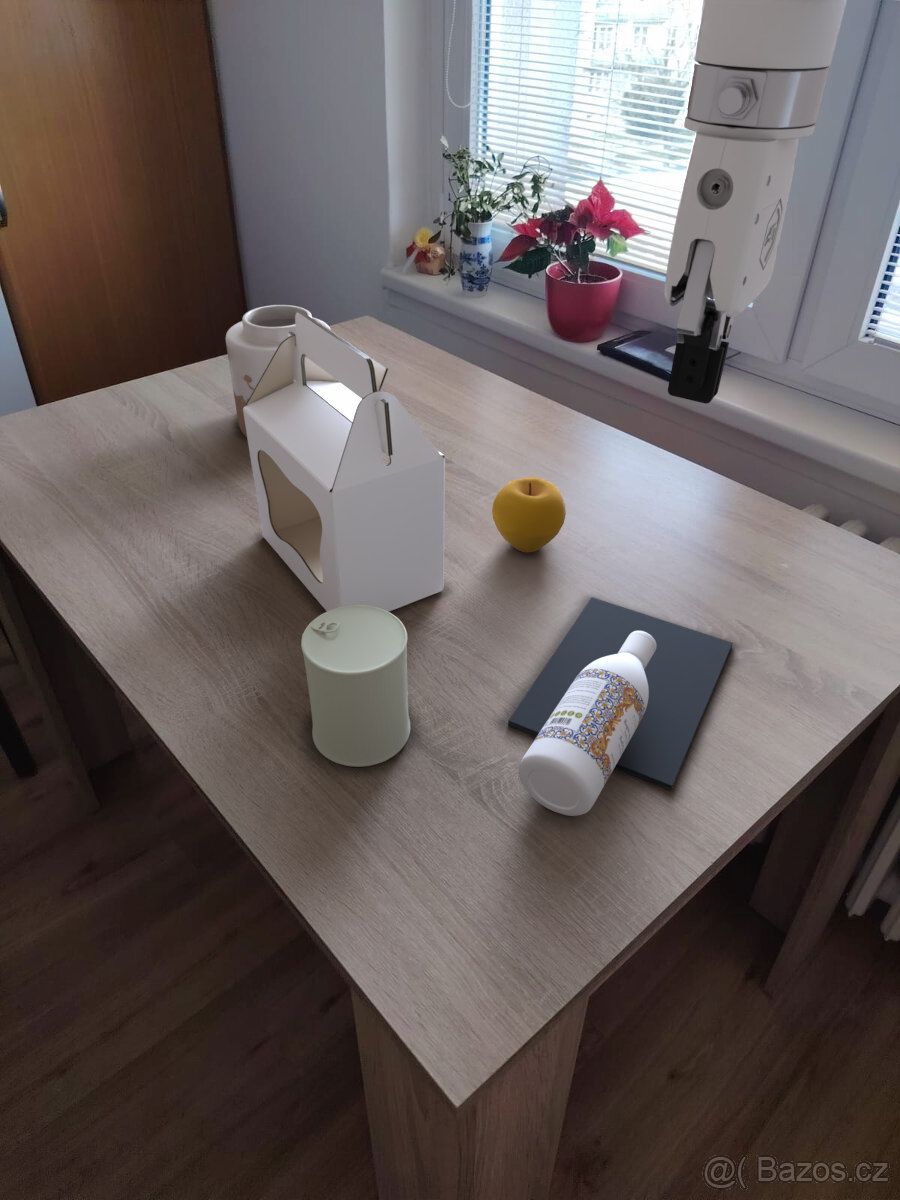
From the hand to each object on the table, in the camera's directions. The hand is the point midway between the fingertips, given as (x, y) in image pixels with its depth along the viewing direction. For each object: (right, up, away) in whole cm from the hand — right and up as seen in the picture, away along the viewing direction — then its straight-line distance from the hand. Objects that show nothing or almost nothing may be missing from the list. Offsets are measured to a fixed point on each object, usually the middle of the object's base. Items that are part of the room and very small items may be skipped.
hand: (691, 395), depth 60 cm
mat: (0, -23, +24) cm, 33 cm away
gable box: (-30, -10, +40) cm, 51 cm away
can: (-26, -27, +19) cm, 42 cm away
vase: (-42, +12, +69) cm, 82 cm away
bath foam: (-9, -31, +9) cm, 33 cm away
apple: (-8, -8, +43) cm, 45 cm away
